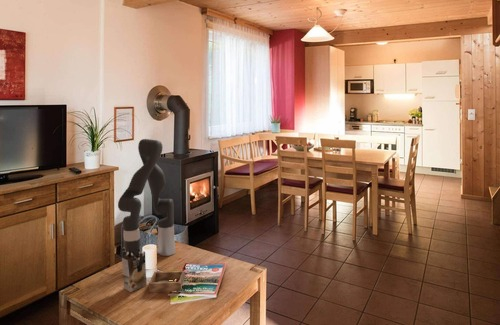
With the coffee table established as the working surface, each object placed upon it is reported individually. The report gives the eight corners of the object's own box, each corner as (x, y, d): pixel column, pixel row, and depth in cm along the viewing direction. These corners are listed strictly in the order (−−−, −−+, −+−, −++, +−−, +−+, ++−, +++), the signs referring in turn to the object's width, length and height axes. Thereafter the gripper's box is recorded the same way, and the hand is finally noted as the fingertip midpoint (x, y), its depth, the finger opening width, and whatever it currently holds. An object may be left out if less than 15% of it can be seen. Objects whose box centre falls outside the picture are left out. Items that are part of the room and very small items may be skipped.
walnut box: (149, 293, 174) (148, 283, 173) (155, 280, 186) (154, 271, 185) (180, 292, 175) (180, 282, 174) (184, 280, 186) (184, 271, 186)
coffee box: (131, 292, 175) (128, 261, 172) (123, 288, 179) (121, 257, 176) (147, 285, 182) (145, 254, 179) (139, 281, 186) (137, 251, 183)
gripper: (115, 237, 176) (117, 269, 179) (137, 243, 170) (139, 276, 172) (127, 232, 183) (129, 263, 186) (148, 237, 176) (150, 269, 179)
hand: (134, 269), depth 179 cm, fingers closed on coffee box, 7 cm apart
